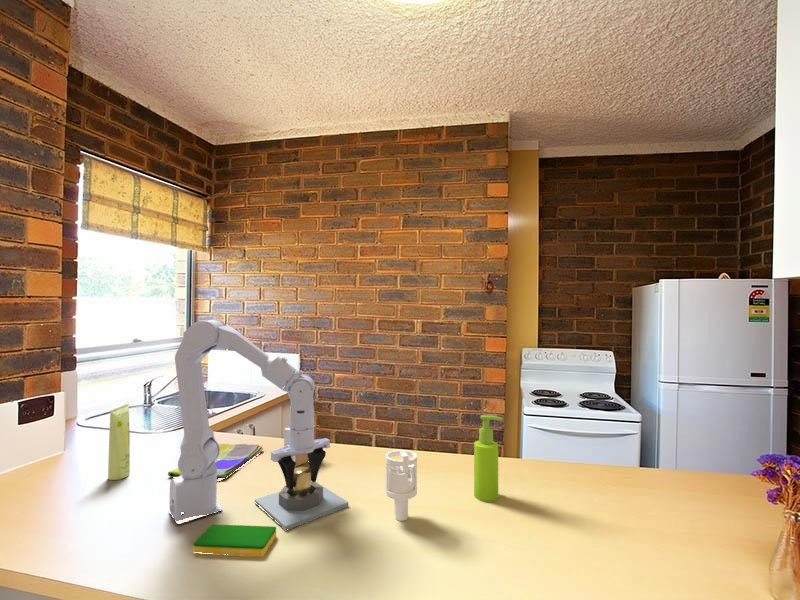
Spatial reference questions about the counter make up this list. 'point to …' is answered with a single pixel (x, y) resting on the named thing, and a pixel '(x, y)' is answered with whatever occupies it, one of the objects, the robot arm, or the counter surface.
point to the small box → (302, 457)
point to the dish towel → (229, 458)
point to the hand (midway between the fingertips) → (301, 484)
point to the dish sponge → (235, 540)
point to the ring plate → (301, 515)
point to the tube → (119, 443)
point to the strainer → (401, 481)
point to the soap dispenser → (486, 462)
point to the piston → (301, 482)
